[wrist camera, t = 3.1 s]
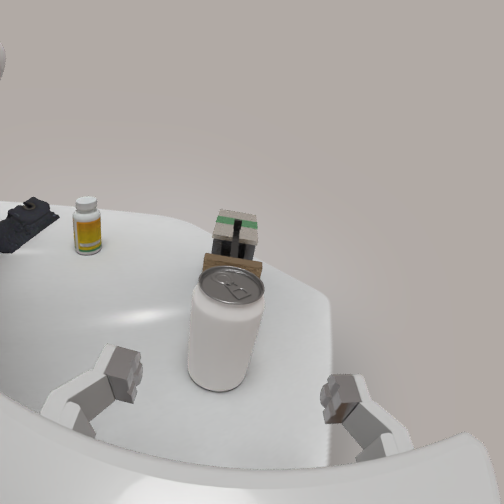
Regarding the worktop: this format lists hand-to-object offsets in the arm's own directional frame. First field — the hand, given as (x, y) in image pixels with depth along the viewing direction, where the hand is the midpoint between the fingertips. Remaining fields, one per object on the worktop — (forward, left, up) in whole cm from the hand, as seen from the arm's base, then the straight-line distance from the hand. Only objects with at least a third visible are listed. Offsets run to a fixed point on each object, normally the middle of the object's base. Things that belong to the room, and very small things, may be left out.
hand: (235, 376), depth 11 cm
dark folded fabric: (-60, +10, -16) cm, 63 cm away
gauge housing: (-14, +28, -15) cm, 35 cm away
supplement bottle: (-39, +18, -16) cm, 45 cm away
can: (-6, +11, -16) cm, 20 cm away
